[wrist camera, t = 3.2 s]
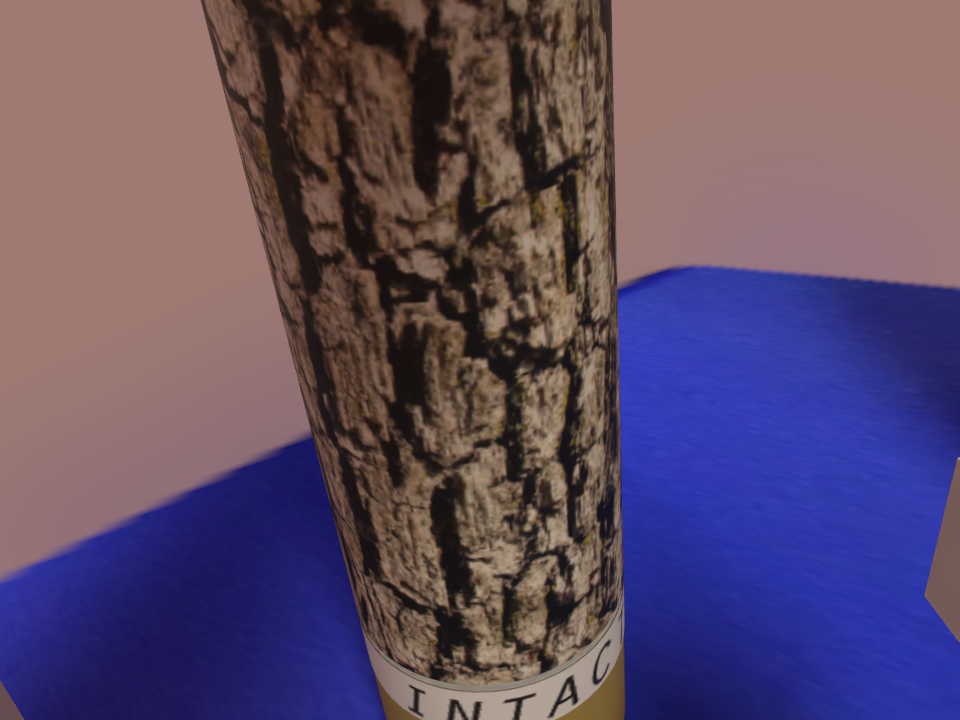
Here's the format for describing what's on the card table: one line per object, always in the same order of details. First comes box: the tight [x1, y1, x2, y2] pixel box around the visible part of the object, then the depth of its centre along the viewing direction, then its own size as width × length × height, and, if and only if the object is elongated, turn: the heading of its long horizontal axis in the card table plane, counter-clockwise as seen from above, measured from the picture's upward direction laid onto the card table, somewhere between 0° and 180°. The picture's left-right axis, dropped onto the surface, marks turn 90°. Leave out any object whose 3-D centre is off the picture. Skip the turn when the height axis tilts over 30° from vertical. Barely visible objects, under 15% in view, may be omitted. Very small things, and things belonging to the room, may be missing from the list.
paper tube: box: [201, 0, 625, 720], centre depth 20 cm, size 7×7×25 cm
